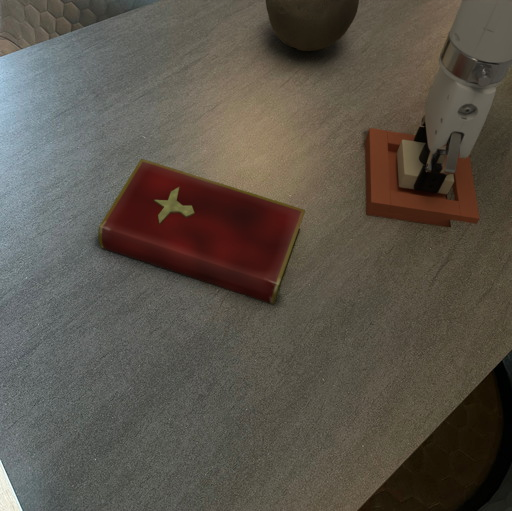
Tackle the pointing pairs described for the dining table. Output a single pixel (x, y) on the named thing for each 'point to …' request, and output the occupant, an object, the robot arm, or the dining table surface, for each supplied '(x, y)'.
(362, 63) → the dining table surface
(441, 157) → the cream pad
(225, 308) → the dining table surface
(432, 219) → the base pad
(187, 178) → the hardcover book
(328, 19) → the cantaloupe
